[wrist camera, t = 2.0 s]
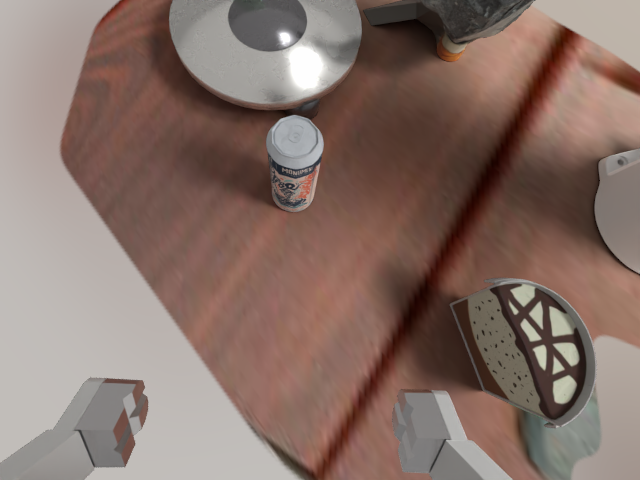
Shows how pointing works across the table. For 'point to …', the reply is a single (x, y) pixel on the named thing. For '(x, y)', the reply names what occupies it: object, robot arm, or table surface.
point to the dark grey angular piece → (453, 19)
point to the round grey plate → (267, 49)
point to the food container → (529, 348)
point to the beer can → (294, 161)
